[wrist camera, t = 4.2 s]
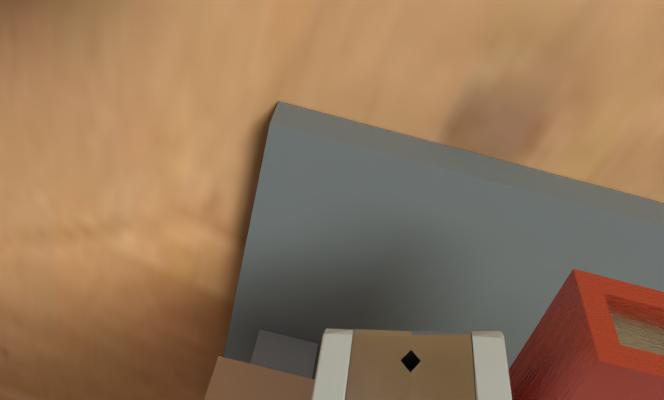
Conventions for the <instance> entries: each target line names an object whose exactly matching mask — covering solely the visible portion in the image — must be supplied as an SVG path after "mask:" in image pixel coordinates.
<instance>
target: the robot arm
mask: <svg viewBox="0 0 664 400" xmlns="http://www.w3.org/2000/svg"><path fill="white" fill-rule="evenodd" d="M311 400H512V394H511V386H510V379H509V371H508V363H507V356H506V348H505V340H504V335H503V334H502V332H501V331H471V333H470V331H392V330H366V329H328V328H326V330H325V332H324V334H323V336H322V342H321V347H320V353H319V359H318V364H317V370H316V376H315V381H314V387H313V393H312V398H311Z"/></svg>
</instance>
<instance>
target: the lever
mask: <svg viewBox="0 0 664 400" xmlns="http://www.w3.org/2000/svg"><path fill="white" fill-rule="evenodd" d="M508 371H509V379H510V386H511V394H512V400H664V292H662V291H658V290H654V289H650V288H647V287H643V286H639V285H635V284H631V283H627V282H623V281H619V280H616V279H612V278H608V277H604V276H600V275H596V274H592V273H588V272H585V271H581V270H577V269H573V270H572V271H571V273H570V274H569V276H568V278H567V279H566V281H565V282H564V284H563V285H562V287H561V289H560V290H559V292H558V293H557V295H556V296H555V298H554V300H553V301H552V303H551V304H550V306H549V307H548V309H547V311H546V312H545V314H544V315H543V317H542V318H541V320H540V322H539V323H538V325H537V326H536V328H535V329H534V331H533V332H532V334H531V336H530V337H529V339H528V340H527V342H526V343H525V345H524V347H523V348H522V350H521V351H520V353H519V354H518V356H517V358H516V359H515V361H514V362H513V364H512V365H511V367H510V369H509V370H508Z"/></svg>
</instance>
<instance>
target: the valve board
mask: <svg viewBox="0 0 664 400" xmlns="http://www.w3.org/2000/svg"><path fill="white" fill-rule="evenodd" d="M573 269H577V270H581V271H585V272H588V273H592V274H596V275H600V276H604V277H608V278H612V279H616V280H619V281H623V282H627V283H631V284H635V285H639V286H643V287H647V288H650V289H654V290H658V291H662V292H664V203H661V202H657V201H653V200H649V199H646V198H642V197H638V196H634V195H630V194H627V193H623V192H619V191H615V190H612V189H608V188H604V187H600V186H596V185H593V184H589V183H585V182H581V181H578V180H574V179H570V178H566V177H562V176H559V175H555V174H551V173H547V172H544V171H540V170H536V169H532V168H528V167H525V166H521V165H517V164H513V163H510V162H506V161H502V160H498V159H494V158H491V157H487V156H483V155H479V154H476V153H472V152H468V151H464V150H460V149H457V148H453V147H449V146H445V145H442V144H438V143H434V142H430V141H426V140H423V139H419V138H415V137H411V136H408V135H404V134H400V133H396V132H392V131H389V130H385V129H381V128H377V127H374V126H370V125H366V124H362V123H358V122H355V121H351V120H347V119H343V118H340V117H336V116H332V115H328V114H324V113H321V112H317V111H313V110H309V109H306V108H302V107H298V106H294V105H290V104H287V103H283V102H279V101H278V104H277V106H276V109H275V111H274V114H273V116H272V119H271V122H270V125H269V130H268V135H267V140H266V145H265V150H264V155H263V160H262V165H261V170H260V175H259V180H258V185H257V190H256V195H255V200H254V205H253V210H252V215H251V220H250V225H249V230H248V235H247V240H246V245H245V250H244V255H243V260H242V265H241V270H240V275H239V280H238V285H237V290H236V295H235V300H234V305H233V310H232V315H231V320H230V325H229V330H228V335H227V340H226V345H225V350H224V355H223V357H221V356H218V359H217V362H216V365H215V368H214V371H213V374H212V377H211V380H210V383H209V386H208V389H207V392H206V395H205V398H204V400H311V398H312V393H313V387H314V381H315V376H316V370H317V364H318V359H319V353H320V347H321V342H322V336H323V334H324V332H325V330H326V328H328V329H366V330H392V331H470V333H471V331H501V332H502V334H503V335H504V340H505V348H506V356H507V363H508V370H509V369H510V367H511V365H512V364H513V362H514V361H515V359H516V358H517V356H518V354H519V353H520V351H521V350H522V348H523V347H524V345H525V343H526V342H527V340H528V339H529V337H530V336H531V334H532V332H533V331H534V329H535V328H536V326H537V325H538V323H539V322H540V320H541V318H542V317H543V315H544V314H545V312H546V311H547V309H548V307H549V306H550V304H551V303H552V301H553V300H554V298H555V296H556V295H557V293H558V292H559V290H560V289H561V287H562V285H563V284H564V282H565V281H566V279H567V278H568V276H569V274H570V273H571V271H572V270H573Z"/></svg>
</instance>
